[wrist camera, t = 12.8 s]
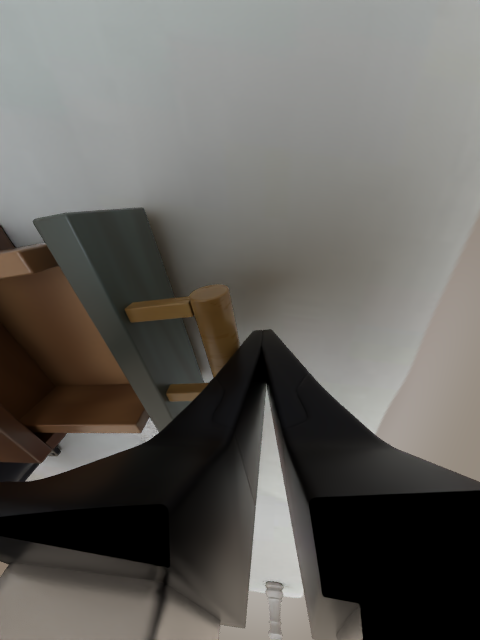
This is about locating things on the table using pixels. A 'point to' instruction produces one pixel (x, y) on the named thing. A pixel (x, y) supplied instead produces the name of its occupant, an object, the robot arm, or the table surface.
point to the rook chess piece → (274, 609)
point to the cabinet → (13, 436)
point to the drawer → (102, 328)
